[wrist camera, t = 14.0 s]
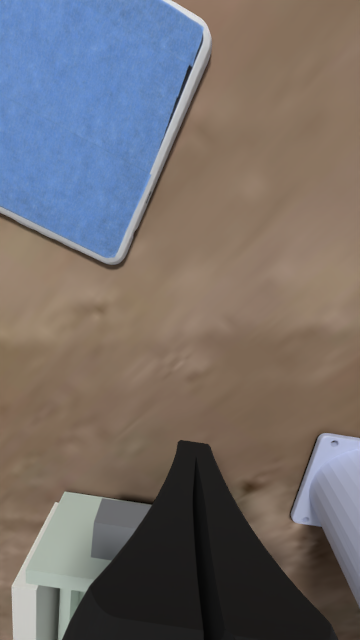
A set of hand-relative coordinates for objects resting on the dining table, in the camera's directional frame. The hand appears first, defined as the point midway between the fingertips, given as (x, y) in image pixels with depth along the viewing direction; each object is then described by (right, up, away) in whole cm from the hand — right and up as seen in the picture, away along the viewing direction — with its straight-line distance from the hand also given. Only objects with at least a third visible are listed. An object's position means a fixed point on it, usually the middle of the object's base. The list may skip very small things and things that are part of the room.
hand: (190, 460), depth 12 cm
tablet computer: (-10, +19, +3) cm, 22 cm away
